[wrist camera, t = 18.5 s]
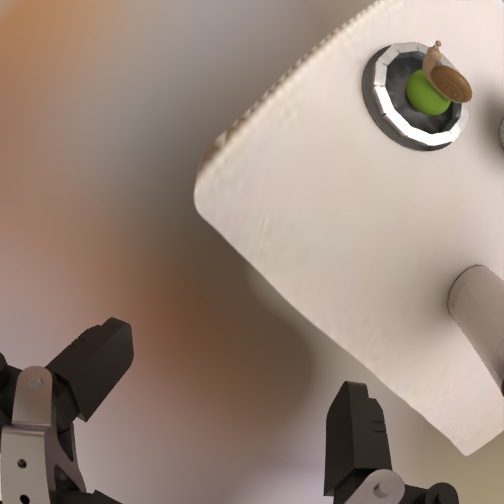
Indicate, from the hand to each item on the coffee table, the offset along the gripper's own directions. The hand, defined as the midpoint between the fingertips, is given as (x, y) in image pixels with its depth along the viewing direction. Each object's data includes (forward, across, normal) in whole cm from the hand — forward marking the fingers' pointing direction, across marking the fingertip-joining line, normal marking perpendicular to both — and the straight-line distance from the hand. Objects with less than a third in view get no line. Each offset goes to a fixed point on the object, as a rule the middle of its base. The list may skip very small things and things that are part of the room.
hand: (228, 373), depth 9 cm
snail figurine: (+26, -13, -19) cm, 34 cm away
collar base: (+26, -13, -19) cm, 35 cm away
